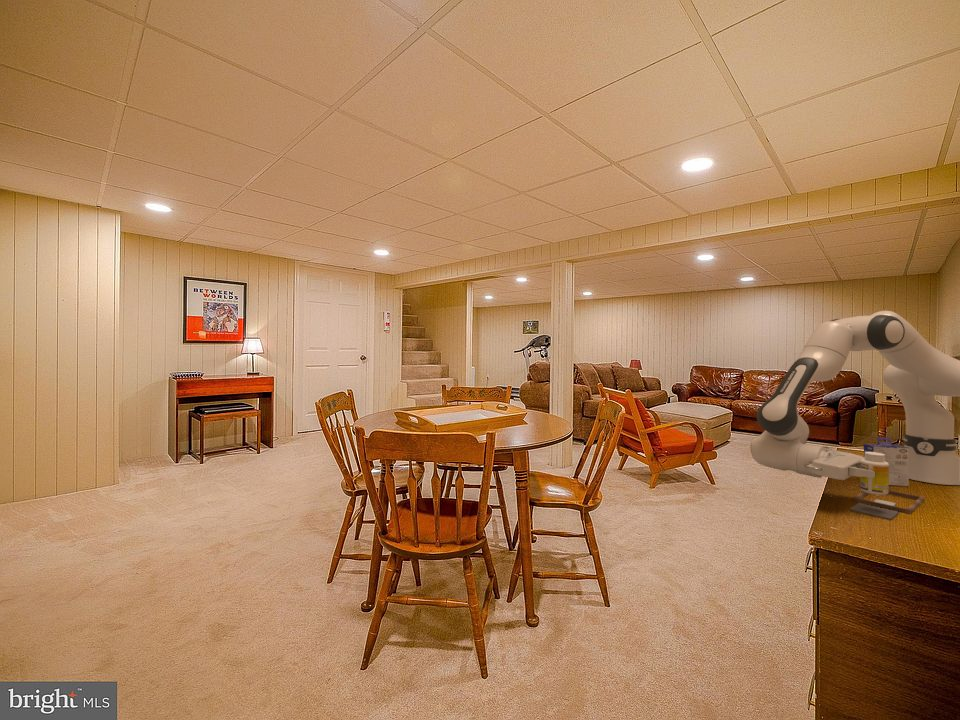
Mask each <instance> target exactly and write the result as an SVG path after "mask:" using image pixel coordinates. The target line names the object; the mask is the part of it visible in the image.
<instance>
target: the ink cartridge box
mask: <svg viewBox="0 0 960 720" xmlns="http://www.w3.org/2000/svg"><path fill="white" fill-rule="evenodd" d="M881 440H886V441H881ZM876 442H877V443H863V457H864V456H865V452H877V453H882V454H885V462H887V463H888V464H889V486H899V487H900V486H901V487H902V486H903V487H909V485H910V484H909V483H910V481H909V480H910V479H909V448H907V447H904V446H905V445H900V444H893V443H892V441H891V438H890V437H882V436H881V437H879V436H876Z"/></svg>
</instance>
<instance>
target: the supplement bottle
mask: <svg viewBox="0 0 960 720" xmlns="http://www.w3.org/2000/svg"><path fill="white" fill-rule="evenodd" d="M863 457H864V458H865V459H862V460H861V461H860V469H869V470H874V471H876V477H874V478H869V477H859V489H860V490H861V492H863V491H864V492H867V493H869V494H871V495H876V496H877V495H878V496H885V495H889V494H888V492H889V489H890V487H889V486H890V485H889V464H888V463H887V462H885V454H882V453H877V452H865V456H864V455H863Z"/></svg>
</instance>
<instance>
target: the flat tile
mask: <svg viewBox="0 0 960 720" xmlns="http://www.w3.org/2000/svg"><path fill="white" fill-rule="evenodd" d="M873 502H878V503H883V504H887V505H892V506H897V503H896V502H893V501H892V502H891V501H887V500H883V499H878V498H876V499H875V500H873Z"/></svg>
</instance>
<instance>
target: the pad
mask: <svg viewBox="0 0 960 720" xmlns="http://www.w3.org/2000/svg"><path fill="white" fill-rule="evenodd" d="M849 510H850V511H851V512H854V513H855V512H856V513H859V514H863V515H868V516H871V515H872V517H875V516H877V517H876V518H880V517H881V519H884V518H885V520H888V519H889V521H892V520H893V519H894V518H895V517H896V516H898V515H899V514H900V512H898V511H894V510H889V509H885V508H880V507H876V506H871V505H867V504H862V503H858V502H857V504H856V505H853V506H852V507H850V509H849Z"/></svg>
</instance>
